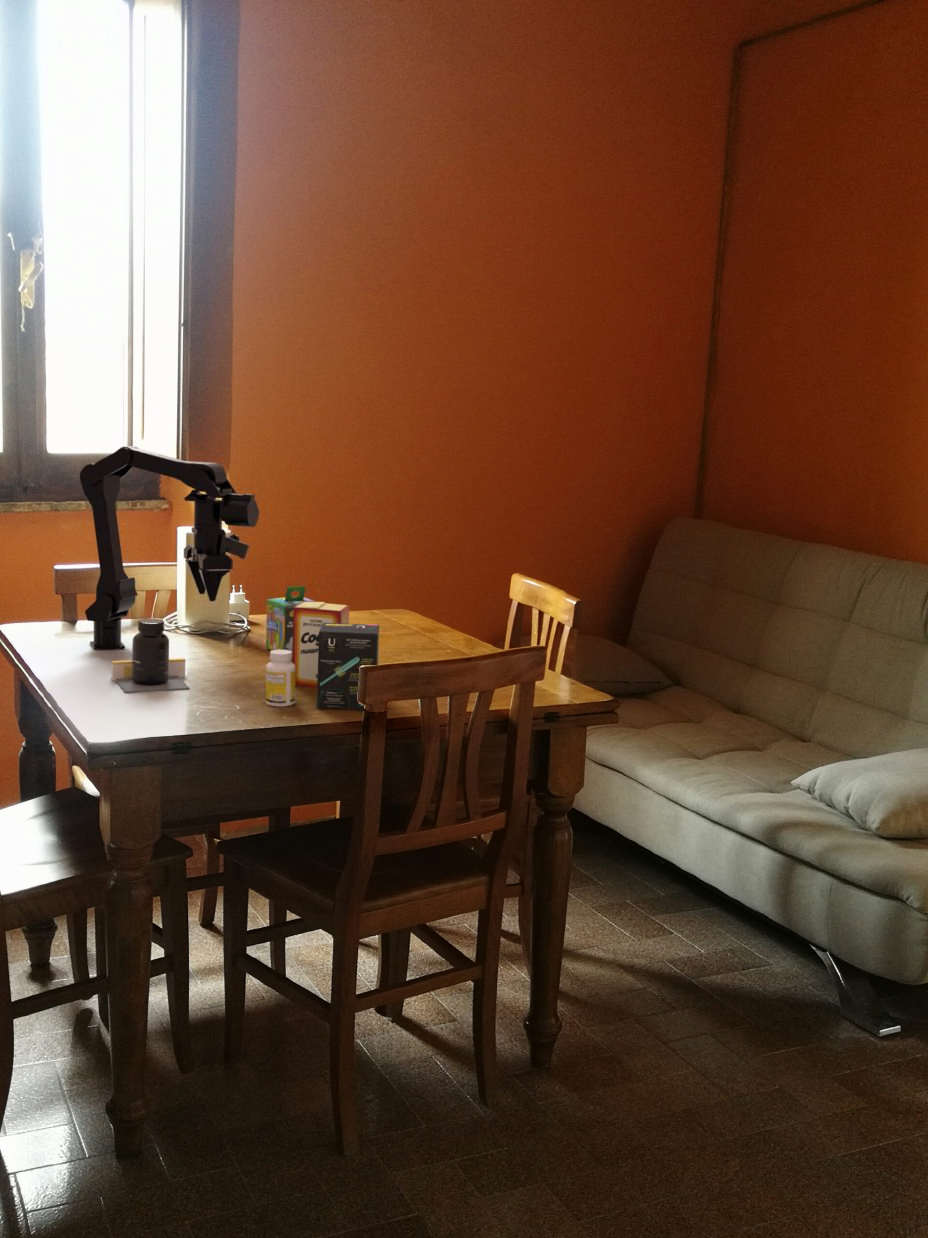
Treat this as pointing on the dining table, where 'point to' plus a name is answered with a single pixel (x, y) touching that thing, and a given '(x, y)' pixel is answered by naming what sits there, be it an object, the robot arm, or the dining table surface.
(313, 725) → the dining table surface
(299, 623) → the baking soda box
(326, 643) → the tampon box
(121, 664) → the rail
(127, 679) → the shelf mat
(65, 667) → the dining table surface
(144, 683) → the supplement bottle
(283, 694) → the supplement bottle
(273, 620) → the chalk box
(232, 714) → the dining table surface
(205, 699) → the dining table surface
